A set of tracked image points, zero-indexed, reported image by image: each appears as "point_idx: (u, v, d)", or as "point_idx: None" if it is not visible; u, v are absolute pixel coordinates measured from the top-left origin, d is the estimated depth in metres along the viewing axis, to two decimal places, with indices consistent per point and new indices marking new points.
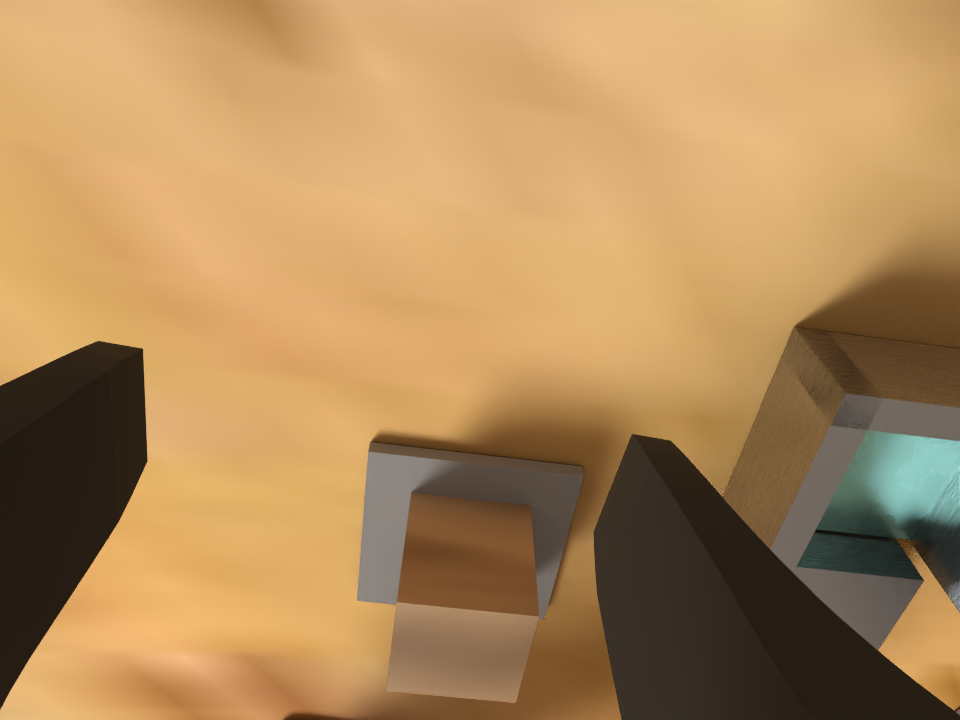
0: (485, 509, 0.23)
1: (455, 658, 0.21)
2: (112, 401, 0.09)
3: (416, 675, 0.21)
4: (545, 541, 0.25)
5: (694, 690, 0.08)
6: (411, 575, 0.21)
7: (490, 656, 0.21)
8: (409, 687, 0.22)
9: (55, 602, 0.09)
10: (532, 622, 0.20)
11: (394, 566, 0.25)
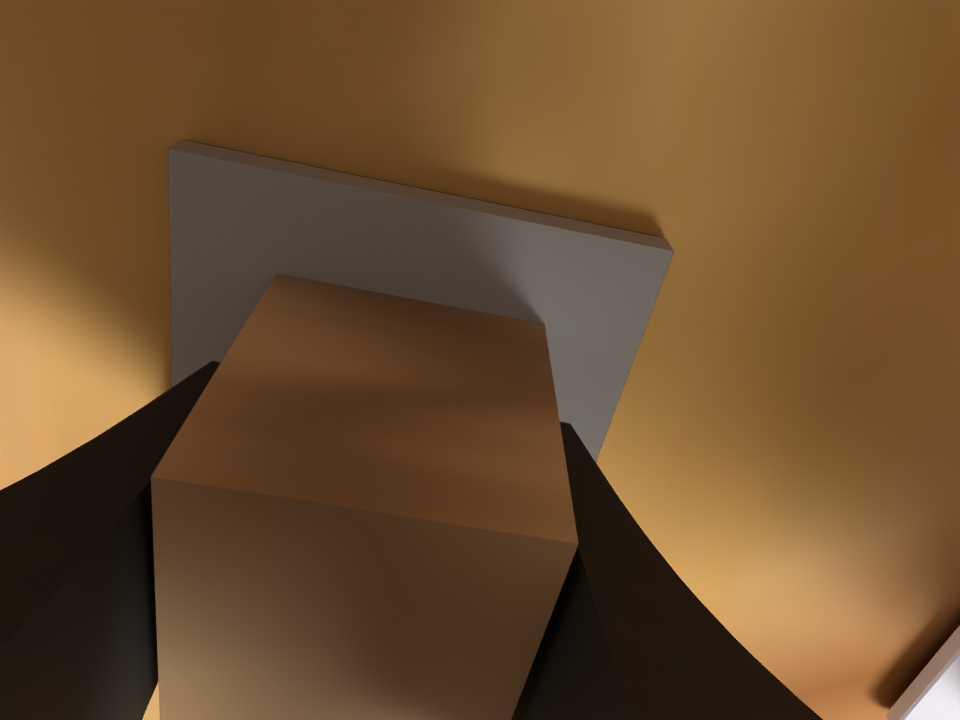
0: None
1: (359, 655, 0.08)
2: None
3: None
4: (389, 243, 0.10)
5: (554, 671, 0.07)
6: None
7: (350, 591, 0.07)
8: None
9: None
10: (182, 493, 0.07)
11: None
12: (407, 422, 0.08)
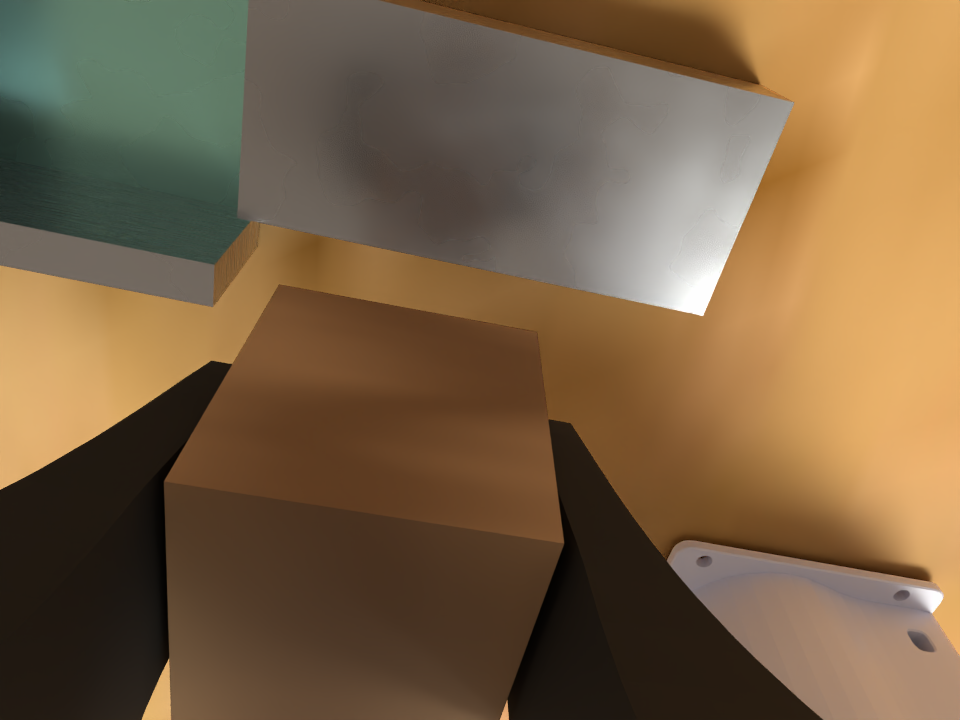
0: None
1: (359, 648, 0.08)
2: None
3: (428, 715, 0.09)
4: None
5: (555, 671, 0.07)
6: None
7: (349, 587, 0.08)
8: None
9: None
10: (192, 497, 0.07)
11: None
12: (404, 428, 0.08)
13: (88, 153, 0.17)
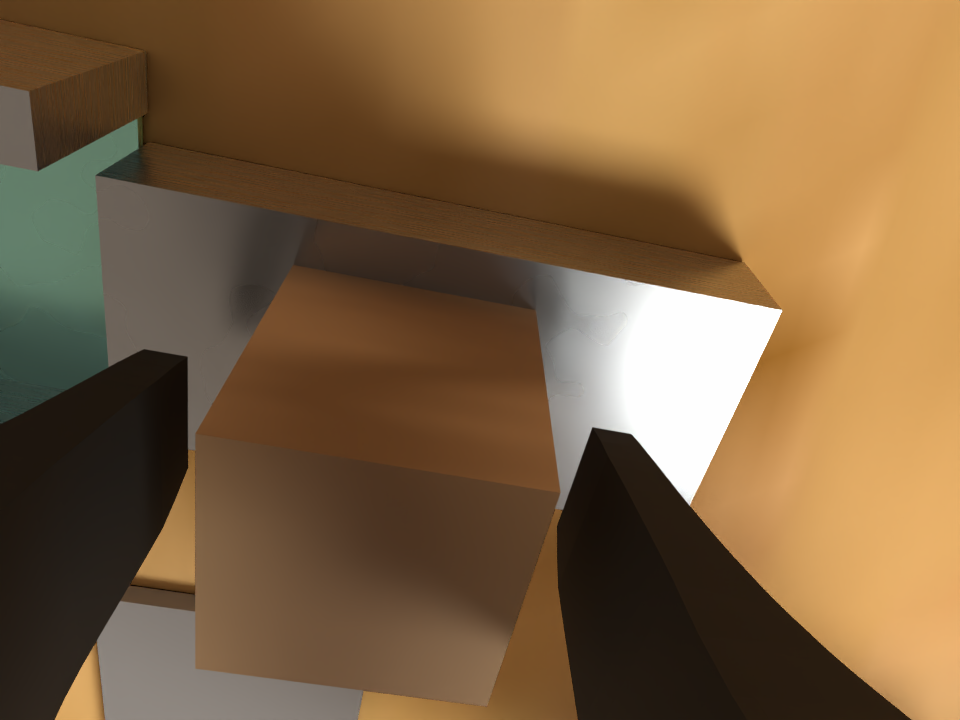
0: None
1: (371, 595, 0.09)
2: (160, 409, 0.09)
3: (435, 660, 0.09)
4: None
5: (640, 682, 0.08)
6: None
7: (363, 535, 0.08)
8: (476, 673, 0.10)
9: (106, 609, 0.09)
10: (221, 448, 0.08)
11: None
12: (412, 392, 0.09)
13: None
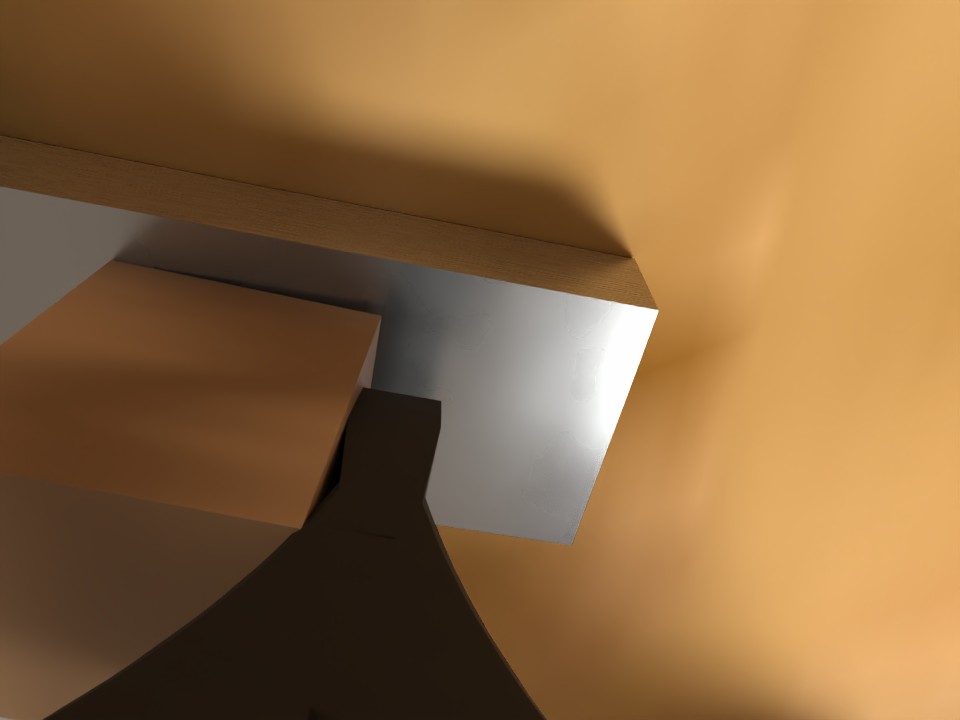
0: None
1: (115, 636, 0.08)
2: (433, 455, 0.10)
3: None
4: None
5: None
6: None
7: (88, 569, 0.07)
8: None
9: None
10: None
11: None
12: (175, 404, 0.08)
13: None
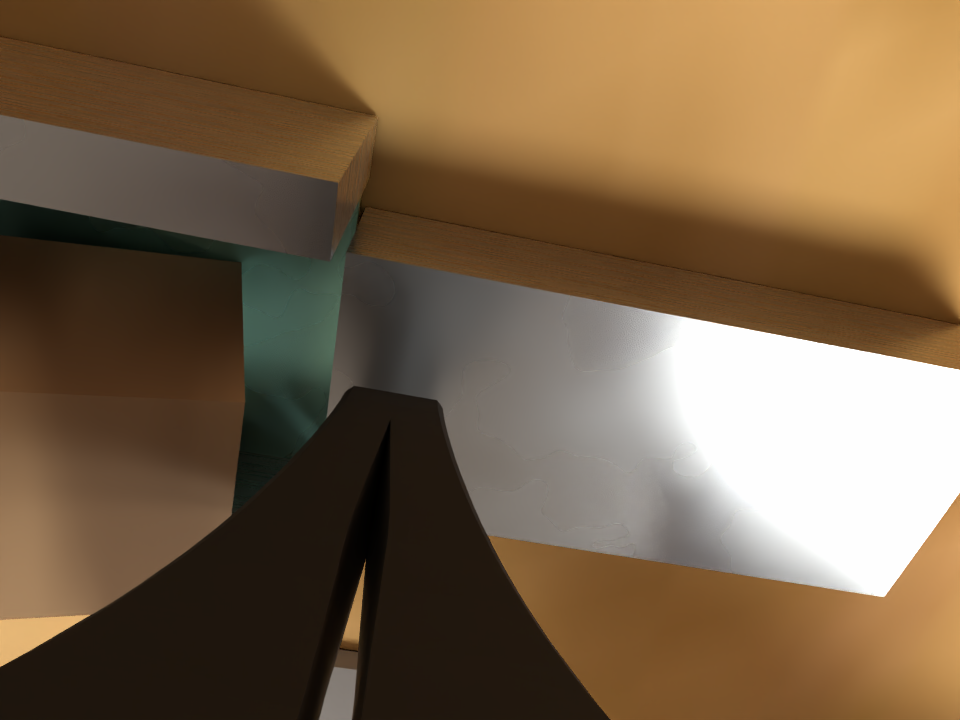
0: None
1: None
2: (384, 446, 0.09)
3: None
4: None
5: (367, 645, 0.07)
6: None
7: None
8: None
9: (339, 641, 0.09)
10: None
11: None
12: (3, 310, 0.09)
13: None
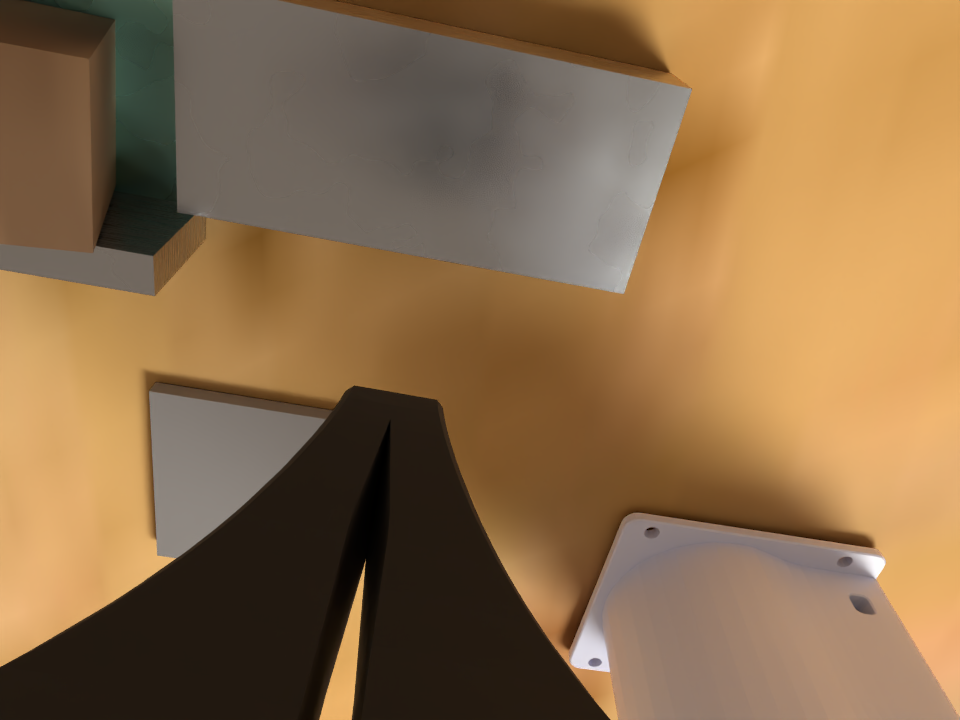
0: None
1: None
2: (384, 446, 0.09)
3: None
4: (251, 426, 0.22)
5: (367, 645, 0.07)
6: None
7: None
8: None
9: (339, 641, 0.09)
10: None
11: None
12: None
13: None
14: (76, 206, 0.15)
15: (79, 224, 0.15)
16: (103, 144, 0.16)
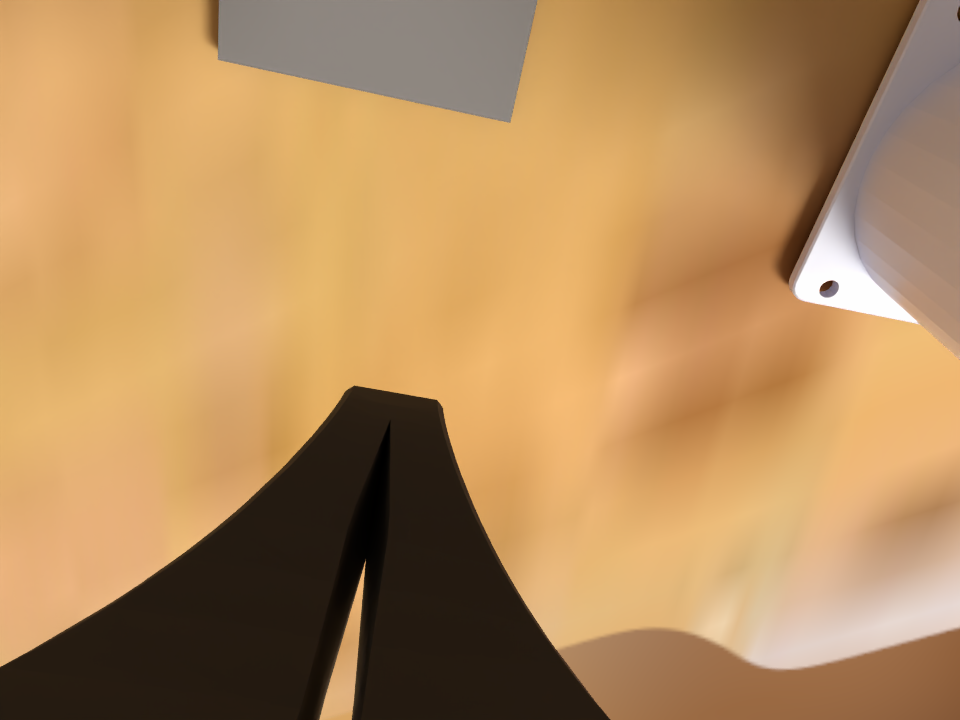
0: None
1: None
2: (384, 446, 0.09)
3: None
4: None
5: (367, 645, 0.07)
6: None
7: None
8: None
9: (339, 641, 0.09)
10: None
11: (440, 51, 0.17)
12: None
13: None
14: None
15: None
16: None
